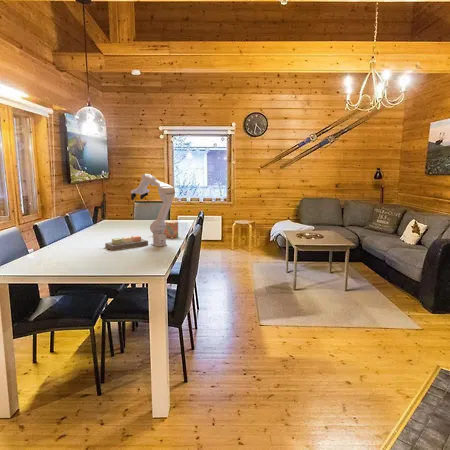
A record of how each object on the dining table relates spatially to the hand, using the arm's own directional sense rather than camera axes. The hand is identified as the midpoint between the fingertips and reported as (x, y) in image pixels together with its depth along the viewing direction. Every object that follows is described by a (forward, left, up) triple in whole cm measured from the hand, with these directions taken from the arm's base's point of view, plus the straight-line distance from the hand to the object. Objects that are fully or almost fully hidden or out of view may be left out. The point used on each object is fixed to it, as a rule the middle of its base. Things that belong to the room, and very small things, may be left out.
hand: (136, 198), depth 264 cm
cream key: (-18, +17, -28) cm, 37 cm away
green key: (-18, +24, -28) cm, 41 cm away
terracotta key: (-18, +10, -28) cm, 35 cm away
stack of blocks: (-3, -22, -31) cm, 38 cm away
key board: (-18, +17, -31) cm, 40 cm away
